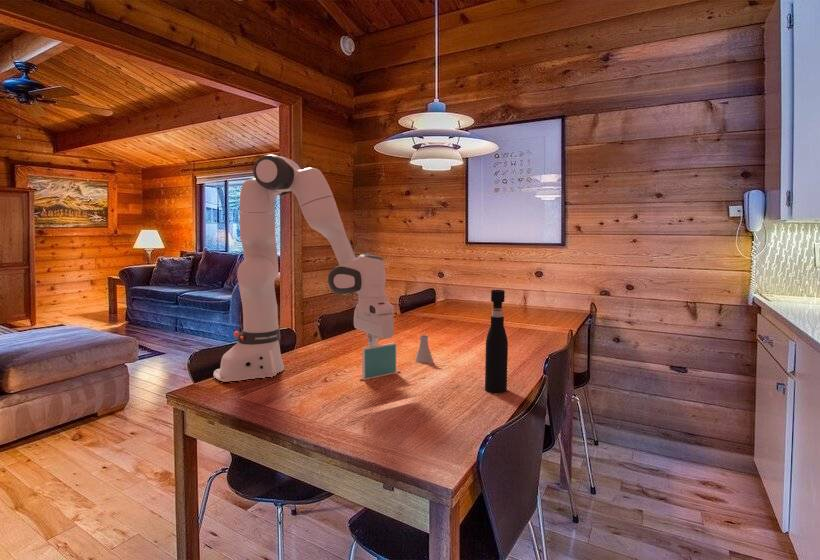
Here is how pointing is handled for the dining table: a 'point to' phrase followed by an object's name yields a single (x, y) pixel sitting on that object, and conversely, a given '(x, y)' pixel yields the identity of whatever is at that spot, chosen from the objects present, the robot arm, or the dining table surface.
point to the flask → (424, 351)
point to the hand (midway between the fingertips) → (372, 346)
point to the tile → (378, 360)
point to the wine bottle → (496, 348)
